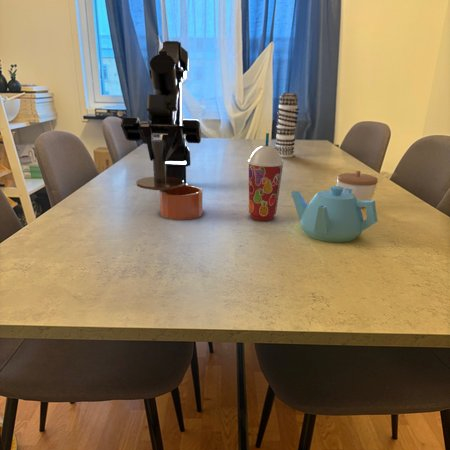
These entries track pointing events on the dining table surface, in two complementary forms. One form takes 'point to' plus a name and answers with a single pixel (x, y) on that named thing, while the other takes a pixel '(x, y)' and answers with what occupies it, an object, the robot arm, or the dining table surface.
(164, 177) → the brown disc with post
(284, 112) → the white patterned cylinder
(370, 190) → the trinket box
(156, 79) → the robot arm
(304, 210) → the teapot
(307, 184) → the dining table surface
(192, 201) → the crock
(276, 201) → the smoothie
